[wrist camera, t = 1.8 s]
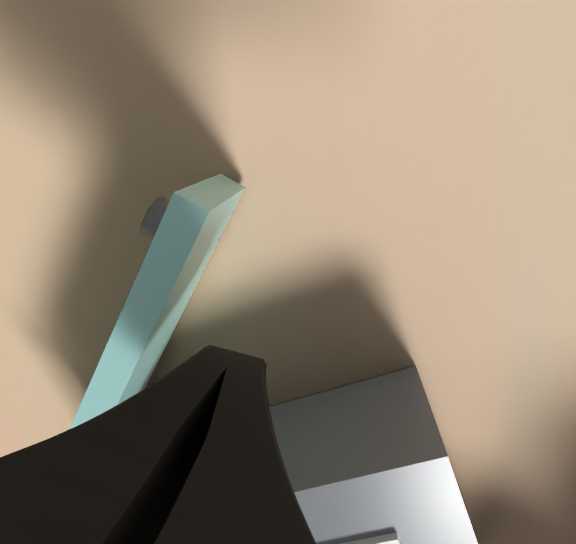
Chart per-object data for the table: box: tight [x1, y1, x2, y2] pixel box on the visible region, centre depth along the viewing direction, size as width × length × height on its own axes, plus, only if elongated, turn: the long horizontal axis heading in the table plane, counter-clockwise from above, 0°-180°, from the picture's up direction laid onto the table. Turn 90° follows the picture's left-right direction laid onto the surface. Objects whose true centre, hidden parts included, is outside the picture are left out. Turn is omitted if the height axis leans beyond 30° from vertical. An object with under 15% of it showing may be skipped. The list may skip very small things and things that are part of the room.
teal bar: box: [70, 174, 245, 429], centre depth 12 cm, size 10×2×4 cm, turn 152°
